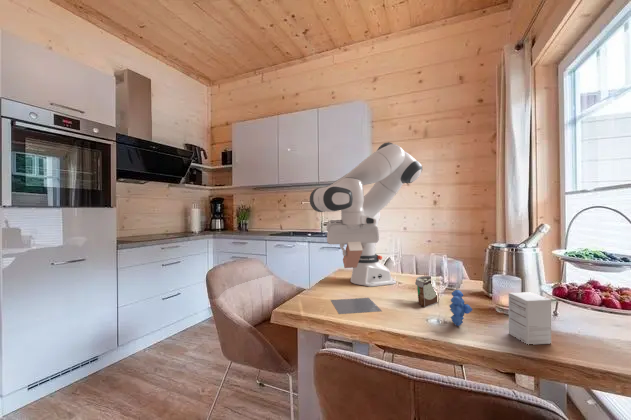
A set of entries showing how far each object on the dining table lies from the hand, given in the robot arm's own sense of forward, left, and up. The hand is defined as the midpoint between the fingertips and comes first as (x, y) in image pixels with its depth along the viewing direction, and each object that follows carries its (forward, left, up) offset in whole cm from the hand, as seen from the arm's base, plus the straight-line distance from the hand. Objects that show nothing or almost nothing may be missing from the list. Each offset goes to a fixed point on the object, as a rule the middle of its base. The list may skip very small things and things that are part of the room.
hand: (353, 255), depth 111 cm
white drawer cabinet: (-43, +35, -20) cm, 59 cm away
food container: (-29, +2, -20) cm, 35 cm away
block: (0, -5, -5) cm, 7 cm away
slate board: (0, +2, -20) cm, 20 cm away
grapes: (-29, +24, -20) cm, 43 cm away
